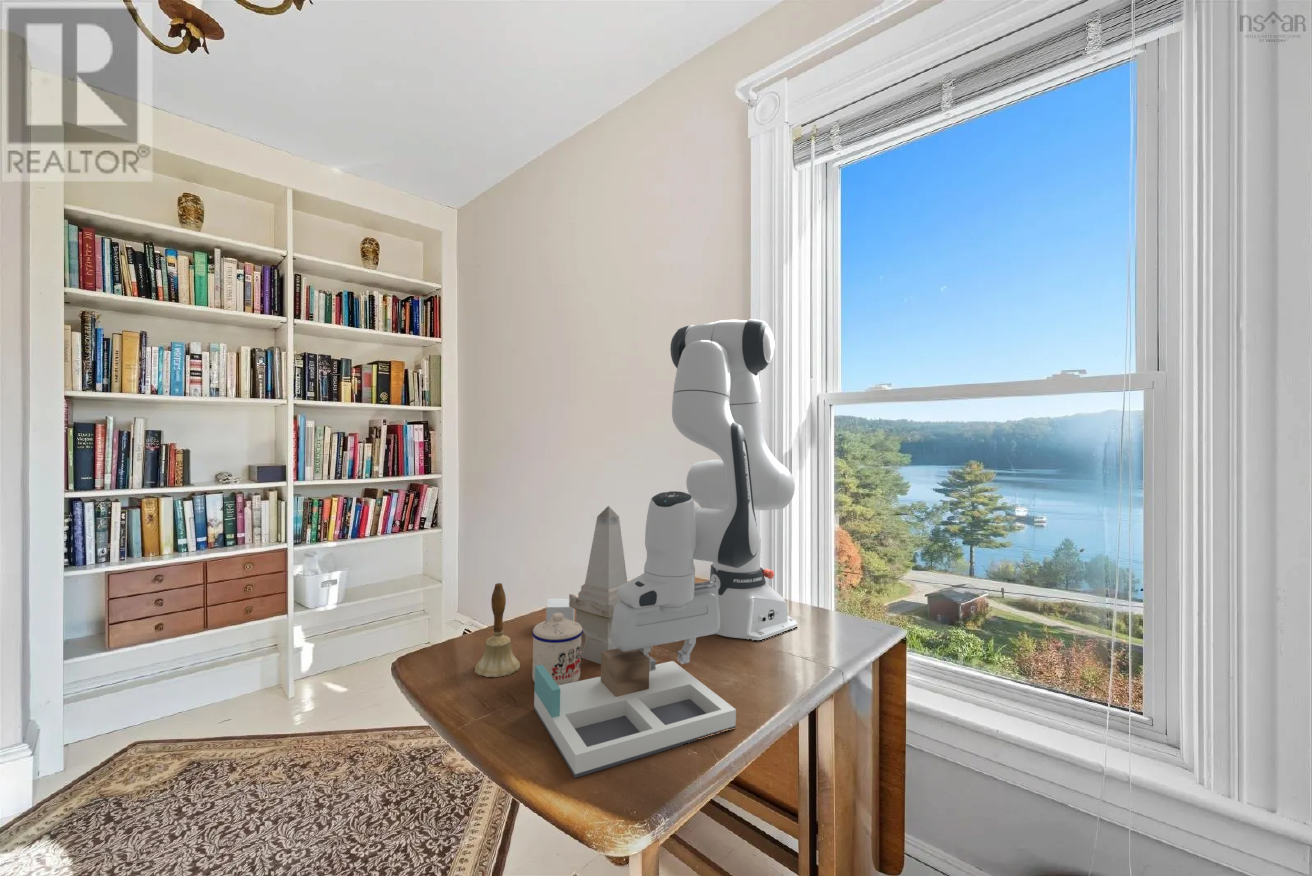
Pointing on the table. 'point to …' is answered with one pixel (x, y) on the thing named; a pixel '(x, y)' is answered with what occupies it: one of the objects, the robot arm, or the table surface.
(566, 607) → the white cube
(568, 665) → the teacup with lid
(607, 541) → the miniature monument
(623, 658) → the walnut block
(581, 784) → the table surface
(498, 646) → the hand bell
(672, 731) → the board
